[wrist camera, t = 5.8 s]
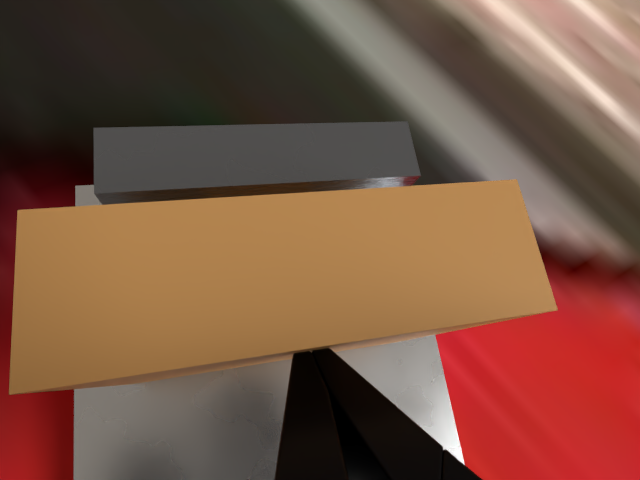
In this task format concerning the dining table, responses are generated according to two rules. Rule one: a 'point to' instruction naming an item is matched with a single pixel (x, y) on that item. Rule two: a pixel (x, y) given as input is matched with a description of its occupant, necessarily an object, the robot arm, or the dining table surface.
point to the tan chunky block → (262, 279)
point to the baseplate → (255, 380)
